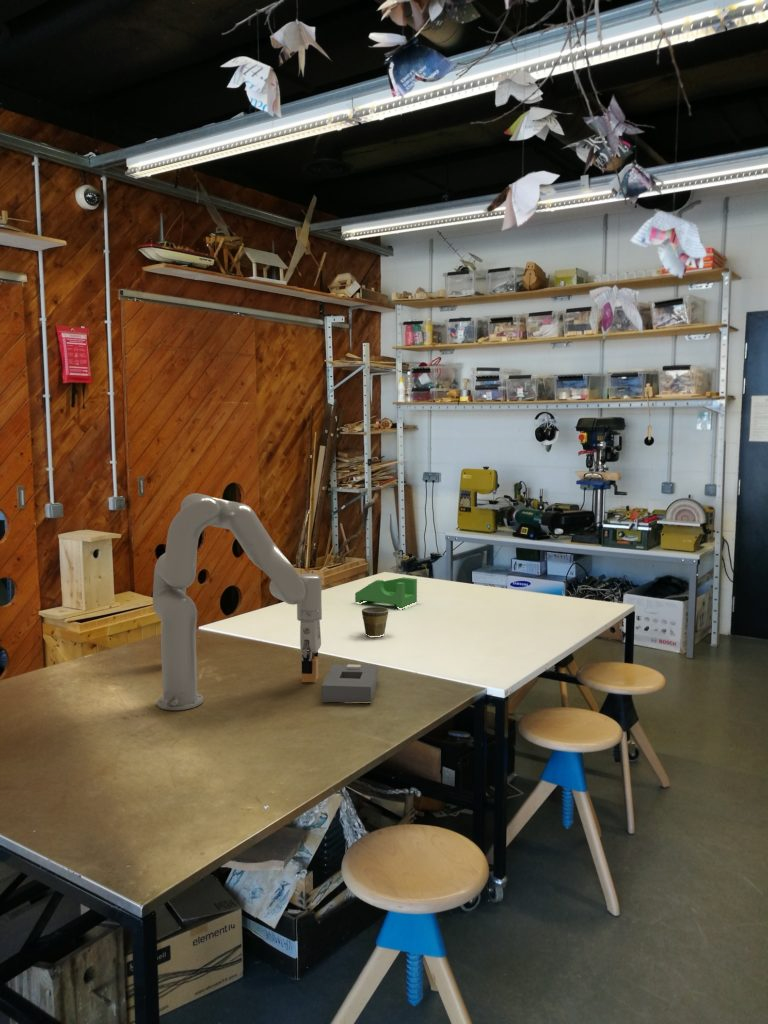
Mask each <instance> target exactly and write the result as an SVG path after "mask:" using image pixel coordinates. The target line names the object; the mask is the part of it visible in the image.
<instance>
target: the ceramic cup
mask: <svg viewBox="0 0 768 1024" xmlns="http://www.w3.org/2000/svg"><path fill="white" fill-rule="evenodd" d="M361 614H362V615H361V616H362V620H363V625H364V632H365V635H366V634H367V635H369V636H380V635H383V634H384V635H385V632H386V626H387V622H388V621H387V620H388V616H389V609H388V608H386V607H383V606H368V607H363V608H362V609H361Z"/></svg>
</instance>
